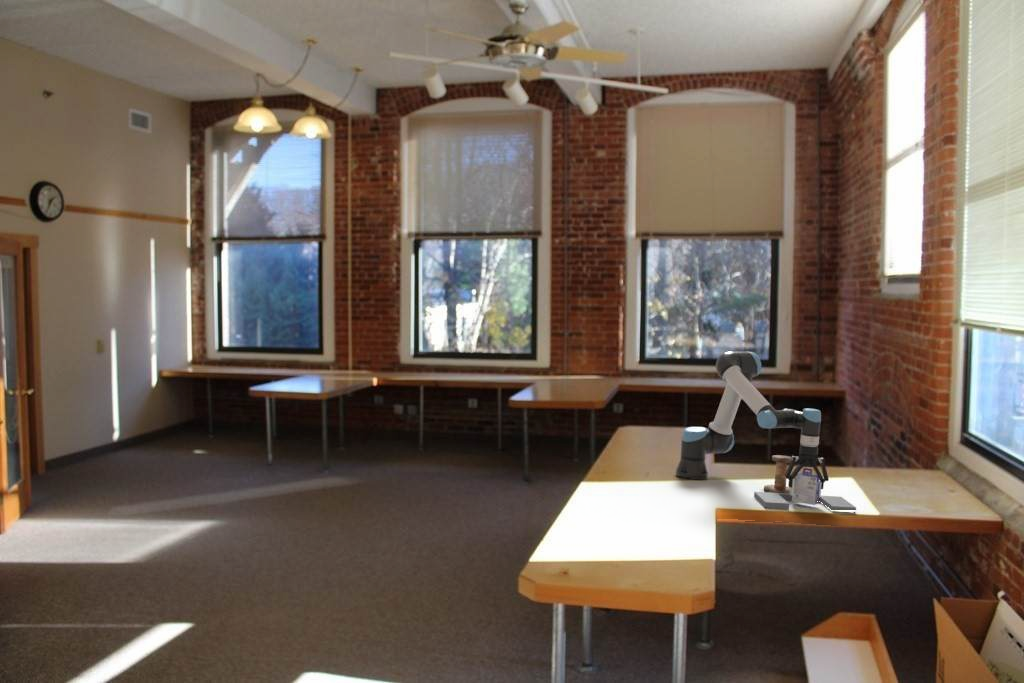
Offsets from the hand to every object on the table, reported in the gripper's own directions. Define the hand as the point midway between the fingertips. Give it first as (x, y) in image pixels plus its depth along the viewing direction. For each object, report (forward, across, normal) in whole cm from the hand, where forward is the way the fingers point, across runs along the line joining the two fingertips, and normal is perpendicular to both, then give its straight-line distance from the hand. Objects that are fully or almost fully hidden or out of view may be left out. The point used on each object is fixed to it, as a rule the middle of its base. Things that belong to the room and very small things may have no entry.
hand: (805, 495), depth 374 cm
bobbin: (+4, -4, +23) cm, 24 cm away
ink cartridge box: (+3, 0, 0) cm, 3 cm away
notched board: (+4, 0, +1) cm, 4 cm away
